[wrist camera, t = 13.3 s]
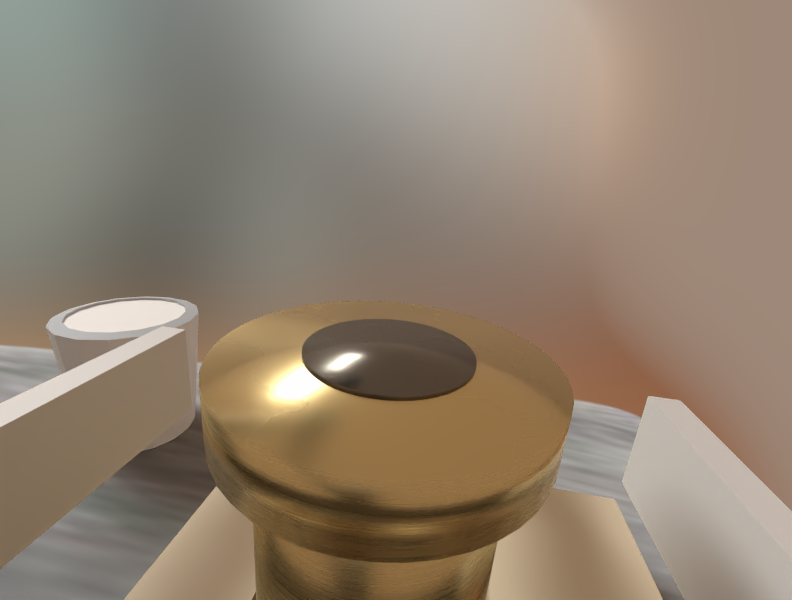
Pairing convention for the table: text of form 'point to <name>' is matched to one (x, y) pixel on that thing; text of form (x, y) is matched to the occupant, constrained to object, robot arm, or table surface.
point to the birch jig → (510, 577)
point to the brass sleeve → (380, 446)
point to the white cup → (124, 337)
